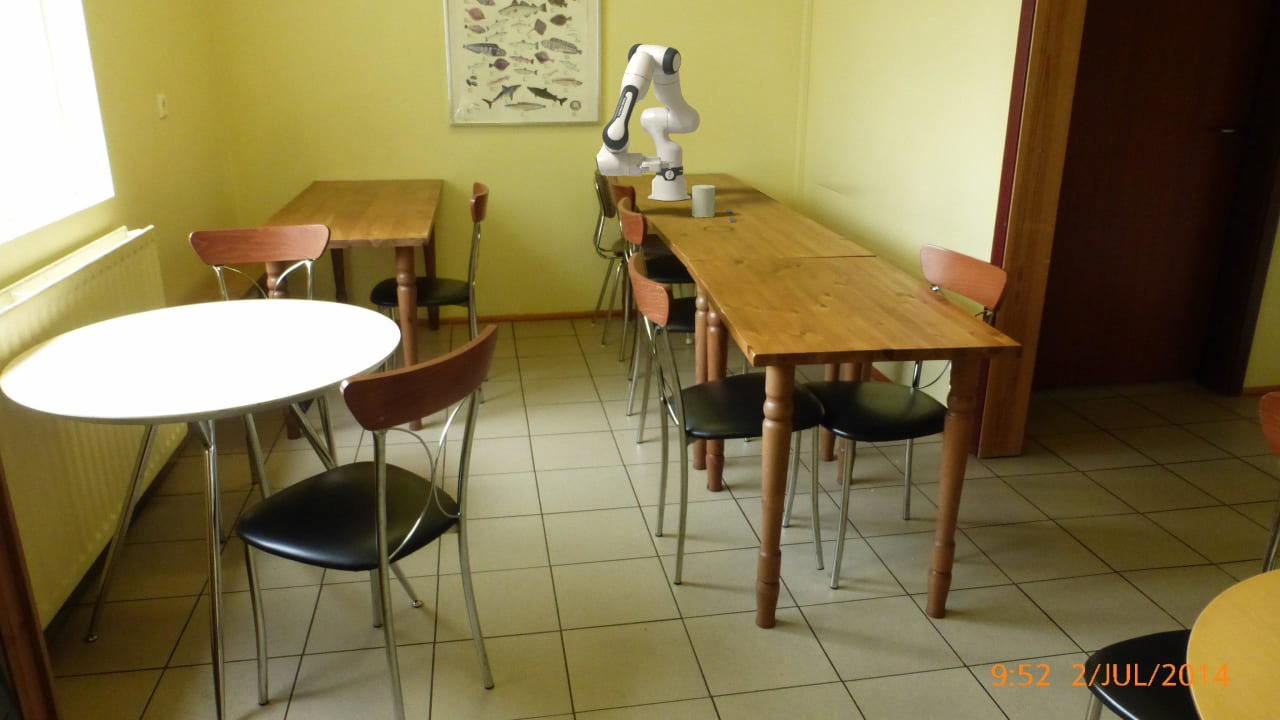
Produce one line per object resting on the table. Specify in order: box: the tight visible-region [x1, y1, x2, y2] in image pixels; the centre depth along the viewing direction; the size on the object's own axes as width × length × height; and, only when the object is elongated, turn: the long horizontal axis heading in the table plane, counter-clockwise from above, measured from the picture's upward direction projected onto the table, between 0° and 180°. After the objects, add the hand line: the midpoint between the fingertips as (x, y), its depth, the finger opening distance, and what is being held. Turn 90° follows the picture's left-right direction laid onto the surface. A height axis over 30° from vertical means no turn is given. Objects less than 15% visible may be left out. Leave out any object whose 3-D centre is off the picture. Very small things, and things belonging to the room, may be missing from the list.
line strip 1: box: [725, 208, 733, 214], centre depth 380 cm, size 8×2×1 cm, turn 179°
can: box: [691, 184, 716, 218], centre depth 368 cm, size 9×9×12 cm
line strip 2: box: [729, 217, 737, 223], centre depth 360 cm, size 8×2×1 cm, turn 179°
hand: (672, 164), depth 364 cm, fingers closed
